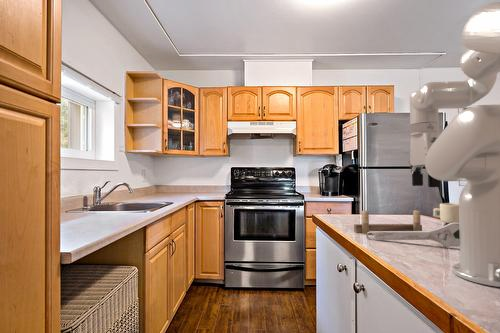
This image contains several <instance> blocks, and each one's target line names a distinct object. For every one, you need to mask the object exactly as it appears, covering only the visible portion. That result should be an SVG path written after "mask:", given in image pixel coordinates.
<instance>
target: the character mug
mask: <svg viewBox="0 0 500 333" xmlns="http://www.w3.org/2000/svg"><path fill="white" fill-rule="evenodd" d="M438 212H439V214H438ZM433 217H434V219H435V218H436V219H440V222H442V223H444V224H443V226H445V225H448V224H450V223H459V203H453V202H452V203H451V202H444V203H439V208H435V207H434V208H433ZM453 235H454V237H455V238H457V239H460V234H459V229H458V230H457V231H456V232H454V233H453Z"/></svg>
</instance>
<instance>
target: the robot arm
mask: <svg viewBox="0 0 500 333" xmlns="http://www.w3.org/2000/svg"><path fill="white" fill-rule="evenodd" d="M461 42H462V44H463V45H464V47H465V48H466V50H465V51H464V52H463V53H462V55H461V56H460V59H459V66H460V69H461V71H462V72H463V74H464V75H466V77H468V79H466V80H464V81H463V80H462V81H431V82H426V83H425V84H423V85H422V86H420V88H419V89H418V90H416V91H414V92H412V93H411V94H410V96H409V122H410V123H409V125H410V127H409V128H410V130H409V131H410V136H411V138H410V145H409V146H410V147H409V160H408V165H409V169H410V172H411V180H412V181H411V184H412V186H413V187H419V186H420V187H422V186H424V173H422V172H423V168H425V170H426V173H427V186H428V188H440V187H441V181H442V182H466V184H465V185H464V187H463V189H462V190H461V192H460V194H459V197H458V198H459V199H458V204H459V234H460V246H459V263H456V264H453V265H452V273H454V275H456V276H458V277H460V278H461V279H465V280H466V281H469V282H473V283H476V284H480V285H483V286H484V285H485V286H490V287H498V288H500V103H499V104H479V105H474V104H475V103H477V102H479V101H480V100H482V99H484V97H486V96H488V95H489V94H490V92H491V91H492V89H493V87H494V85H495V84H496V81H497V75H498V74H499V73H500V1H496V2H495V1H494V2H490V3H488V4H485V5H483V6H481V7H480V8H478V9H477V10H476V11H475V12H473V13H472V15H471V16H470V17H469V18H468V19H467V21H466V22H465V24H464V27H463V29H462V32H461ZM472 105H473V106H472ZM439 109H441V110H443V109H446V110H447V109H453V110H454V109H463V110H461V111H459V112H458V114H456V115H455V116H454V117H453V118H452V119H451V121H450V122H448V124H447V125H446V127H444V129H443V131H442V132H440V130H439V128H440V126H439V125H440V122H439V120H440V119H439Z"/></svg>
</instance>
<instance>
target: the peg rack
mask: <svg viewBox="0 0 500 333" xmlns="http://www.w3.org/2000/svg"><path fill="white" fill-rule="evenodd" d="M369 213H370V212H369V210H361V223H354V225H353V231H354V232H355V233H356V234H363V235H365V236H366V234H367V233H368V232H370V231H423V226H422V224H421V210H418V209H417V210H415V209H414V210H413V211H412V214H413V215H412V218H413V219H412V223H388V224H387V223H378V224H377V223H370V221H369V220H370V217H369V216H370V215H369ZM368 235H370V233H368Z"/></svg>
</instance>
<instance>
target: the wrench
mask: <svg viewBox="0 0 500 333" xmlns="http://www.w3.org/2000/svg"><path fill="white" fill-rule="evenodd" d="M458 229H459V223H450V224H448V225H445V226H444V225H442V226H441V227H438V228H434V229H431V230H422V231H370V232H368V233H369V234H373V236H374V237H373V238H370V237H369V234H368V233H367V234H366V235H365V237H366V239H367V240H369V241H370V240H371V241H433V242H437V243H439V244H441V245H442V248H444V249H450V247H460V239H457V238H455V237H454V235H453V233H454V232H456V231H457V230H458Z"/></svg>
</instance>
